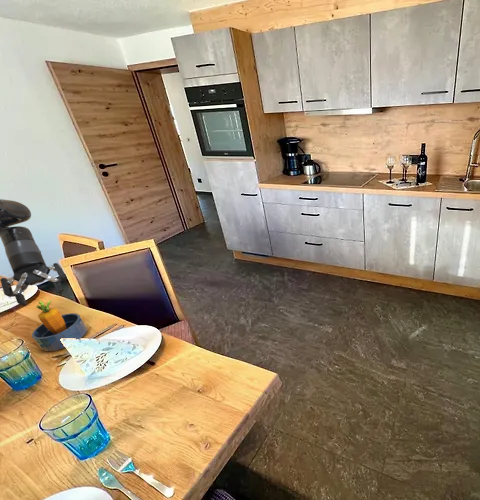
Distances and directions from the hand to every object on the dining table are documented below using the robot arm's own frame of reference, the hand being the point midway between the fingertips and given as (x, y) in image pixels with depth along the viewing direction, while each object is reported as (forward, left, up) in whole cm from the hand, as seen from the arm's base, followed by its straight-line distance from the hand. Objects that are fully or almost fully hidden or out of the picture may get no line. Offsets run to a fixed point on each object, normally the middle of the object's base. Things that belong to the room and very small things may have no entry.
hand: (42, 299), depth 94 cm
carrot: (+1, -3, -14) cm, 15 cm away
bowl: (+1, -3, -15) cm, 15 cm away
